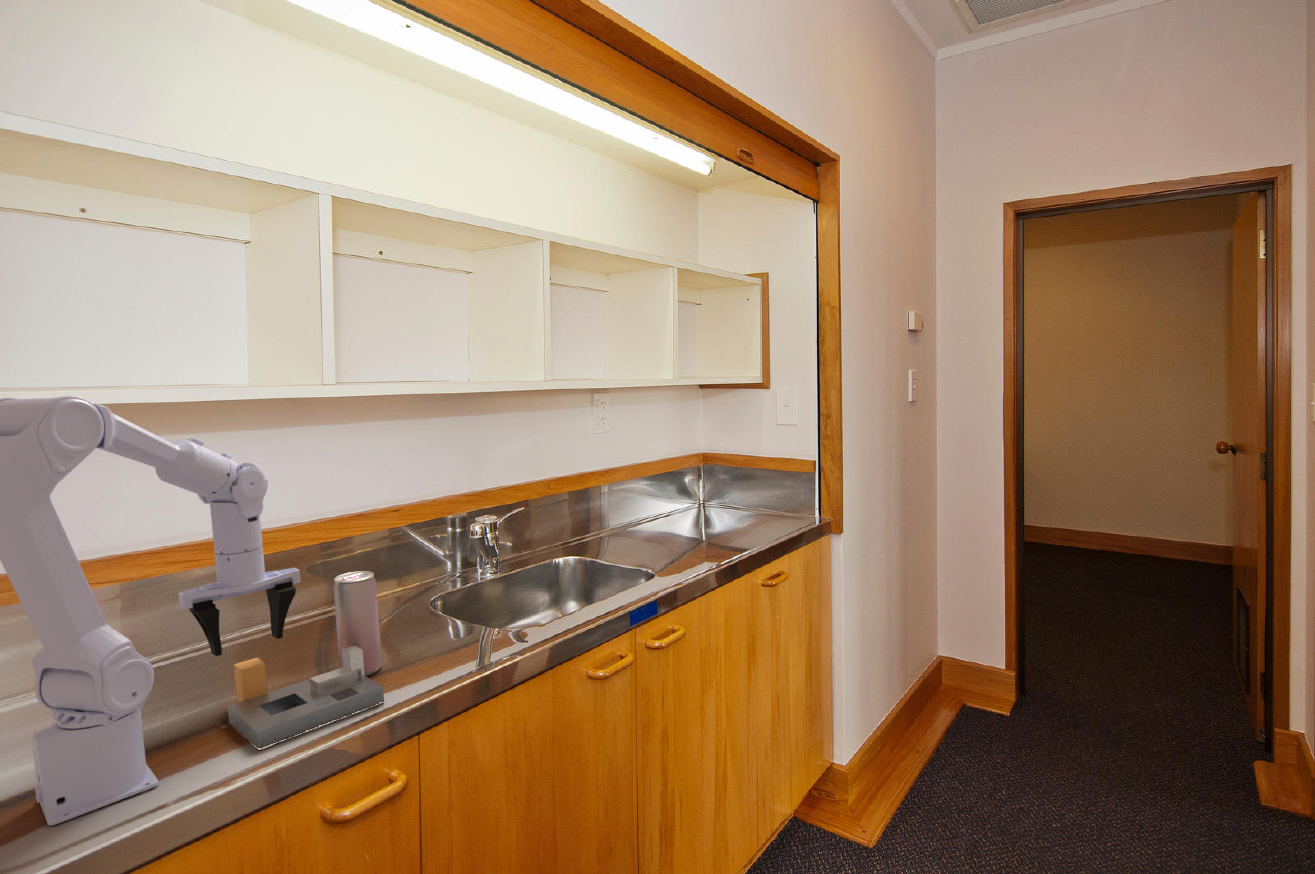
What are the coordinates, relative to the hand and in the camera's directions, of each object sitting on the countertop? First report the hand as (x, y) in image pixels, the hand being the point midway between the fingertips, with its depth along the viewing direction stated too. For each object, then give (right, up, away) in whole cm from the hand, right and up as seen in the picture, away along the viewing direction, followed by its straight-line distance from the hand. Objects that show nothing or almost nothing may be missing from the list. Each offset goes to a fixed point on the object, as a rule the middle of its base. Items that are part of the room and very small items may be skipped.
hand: (247, 645), depth 98 cm
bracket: (+12, -6, 0) cm, 14 cm away
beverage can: (+11, -7, +11) cm, 17 cm away
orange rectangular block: (0, -9, +1) cm, 9 cm away
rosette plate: (+10, -9, -2) cm, 13 cm away
